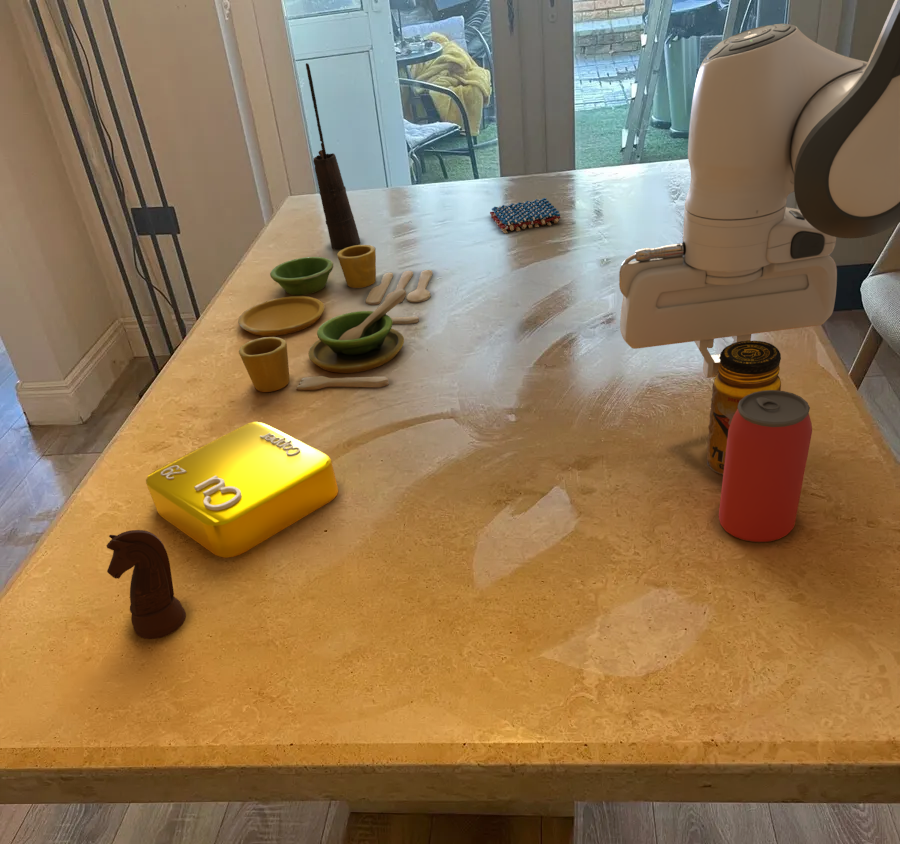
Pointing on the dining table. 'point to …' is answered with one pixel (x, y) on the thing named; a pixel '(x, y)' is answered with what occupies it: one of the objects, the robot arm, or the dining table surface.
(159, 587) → the chess piece
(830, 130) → the robot arm
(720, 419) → the condiment
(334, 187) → the butter churn
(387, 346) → the tableware set
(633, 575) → the dining table surface
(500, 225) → the woven mat
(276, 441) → the element tile
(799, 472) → the beer can
